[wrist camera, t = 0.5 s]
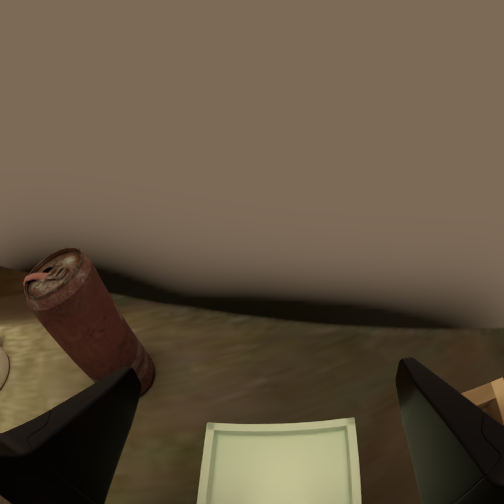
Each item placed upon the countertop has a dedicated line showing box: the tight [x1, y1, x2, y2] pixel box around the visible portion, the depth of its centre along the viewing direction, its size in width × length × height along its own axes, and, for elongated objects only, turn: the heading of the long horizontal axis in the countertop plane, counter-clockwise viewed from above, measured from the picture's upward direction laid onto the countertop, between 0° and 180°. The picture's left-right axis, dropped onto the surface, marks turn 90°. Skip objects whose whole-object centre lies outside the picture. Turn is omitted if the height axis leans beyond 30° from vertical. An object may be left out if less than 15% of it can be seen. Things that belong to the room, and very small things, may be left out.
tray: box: [197, 417, 361, 504], centre depth 14 cm, size 11×11×2 cm
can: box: [23, 248, 154, 395], centre depth 20 cm, size 6×6×14 cm
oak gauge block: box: [461, 377, 504, 425], centre depth 13 cm, size 8×8×4 cm
